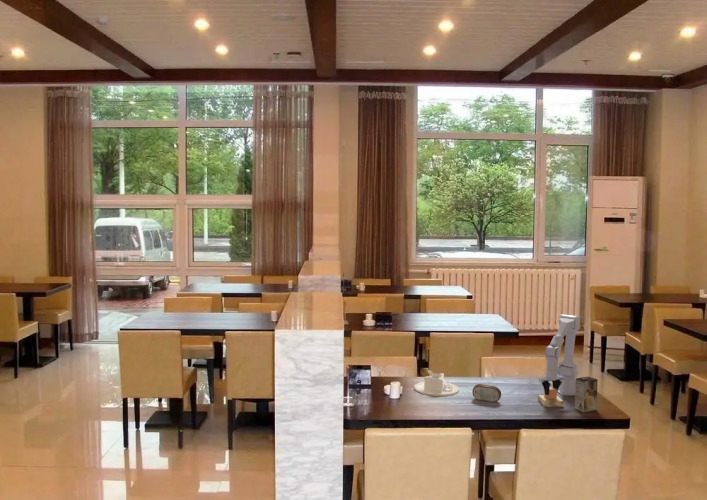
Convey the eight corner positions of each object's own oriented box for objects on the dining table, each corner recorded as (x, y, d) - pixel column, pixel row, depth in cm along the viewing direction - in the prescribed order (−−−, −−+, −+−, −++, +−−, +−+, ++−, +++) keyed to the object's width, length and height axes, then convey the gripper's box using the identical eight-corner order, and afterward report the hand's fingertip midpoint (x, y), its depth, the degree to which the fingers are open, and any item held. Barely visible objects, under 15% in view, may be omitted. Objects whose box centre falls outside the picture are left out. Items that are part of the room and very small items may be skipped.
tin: (501, 402, 340) (501, 386, 339) (499, 404, 337) (500, 388, 336) (473, 398, 346) (473, 382, 345) (471, 399, 343) (472, 384, 342)
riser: (556, 400, 344) (556, 395, 344) (563, 406, 334) (563, 401, 334) (537, 400, 344) (538, 394, 343) (544, 406, 334) (544, 400, 333)
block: (551, 395, 342) (551, 386, 341) (556, 398, 338) (557, 389, 337) (544, 396, 340) (544, 387, 340) (549, 399, 336) (549, 389, 336)
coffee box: (586, 406, 336) (588, 376, 334) (596, 410, 330) (598, 379, 328) (574, 408, 331) (575, 378, 330) (583, 412, 326) (585, 381, 324)
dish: (448, 399, 343) (449, 378, 342) (406, 391, 356) (407, 371, 355) (466, 388, 364) (466, 368, 363) (425, 380, 377) (426, 361, 376)
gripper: (558, 365, 344) (557, 390, 345) (535, 368, 338) (534, 393, 340) (567, 369, 337) (565, 394, 338) (544, 371, 332) (543, 397, 333)
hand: (550, 394), depth 338 cm, fingers closed on block, 4 cm apart
